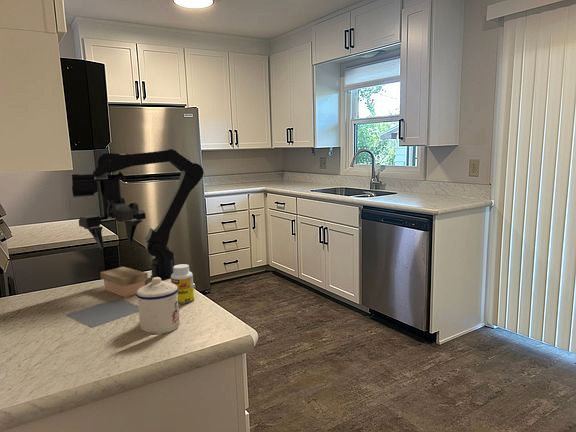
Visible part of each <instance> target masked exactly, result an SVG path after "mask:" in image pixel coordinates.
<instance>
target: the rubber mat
mask: <svg viewBox="0 0 576 432" xmlns="http://www.w3.org/2000/svg"><path fill="white" fill-rule="evenodd" d="M137 313H139V308H138V304H134V303H131V302H129V301H126V300H124V299H121V298H114V299H112V300H108V301H105V302H104V301H103V302H102V303H98V304H95V305H91V306H89V307H84V308H82V309H78V310H75V311H71V312H69V313H64V315H65V316H66V317H68V318H70V319H72V320H74V321H76V322H79V323H80V324H82V325H84V326H87V327H89V328H91V329H93V328H95V327H99V326H102V325H104V324H108V323H111V322H113V321H116V320H119V319H122V318H125V317H129V316H131V315H134V314H137Z"/></svg>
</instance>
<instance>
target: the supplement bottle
mask: <svg viewBox="0 0 576 432" xmlns="http://www.w3.org/2000/svg"><path fill="white" fill-rule="evenodd" d="M173 271H174V273H173V274H172V275H171V278H170V283H172V284H175V285H176V286H177V287H178V292H177V293H178V306H179V305H187V304H191V303H193V302H194V301H195V289H194V287H195V286H194V275H193V272H192V271H190V265H189V264H186V263H185V264H184V263H183V264H181V263H180V264H175V266H174V267H173Z"/></svg>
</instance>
